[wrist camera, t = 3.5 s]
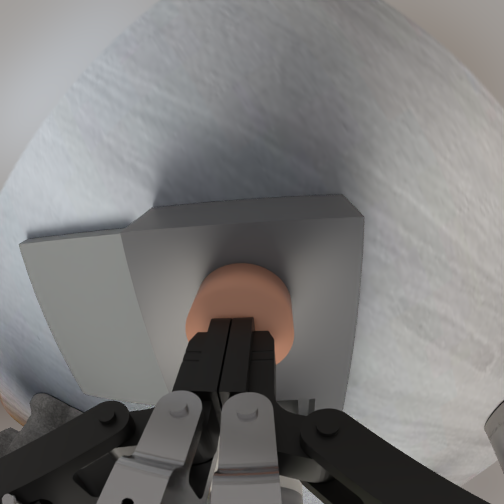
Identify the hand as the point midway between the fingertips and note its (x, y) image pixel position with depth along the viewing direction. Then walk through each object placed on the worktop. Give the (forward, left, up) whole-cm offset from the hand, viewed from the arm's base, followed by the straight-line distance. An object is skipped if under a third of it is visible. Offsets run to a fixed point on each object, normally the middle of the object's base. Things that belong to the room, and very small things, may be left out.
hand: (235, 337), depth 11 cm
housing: (0, +5, -6) cm, 8 cm away
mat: (+11, +4, -6) cm, 13 cm away
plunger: (0, 0, -5) cm, 5 cm away
